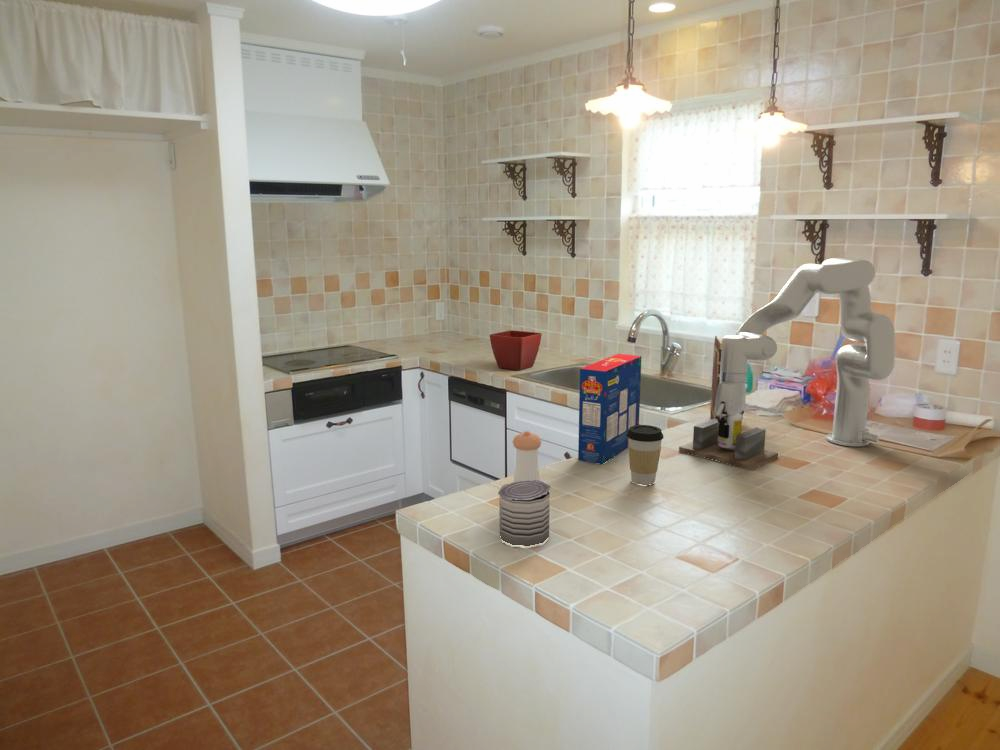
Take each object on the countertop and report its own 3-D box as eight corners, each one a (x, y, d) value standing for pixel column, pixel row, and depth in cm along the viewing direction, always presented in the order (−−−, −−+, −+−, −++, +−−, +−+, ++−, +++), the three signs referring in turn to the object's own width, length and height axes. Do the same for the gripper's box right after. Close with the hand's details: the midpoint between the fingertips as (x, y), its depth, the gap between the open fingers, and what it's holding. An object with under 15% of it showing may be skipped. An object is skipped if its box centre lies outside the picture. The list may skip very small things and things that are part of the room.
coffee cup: (664, 479, 194) (667, 426, 191) (657, 491, 185) (659, 436, 182) (629, 473, 198) (631, 422, 195) (620, 485, 189) (622, 432, 186)
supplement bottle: (740, 443, 216) (743, 403, 213) (740, 450, 210) (742, 408, 207) (717, 441, 218) (719, 401, 215) (716, 448, 212) (719, 406, 209)
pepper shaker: (521, 512, 172) (521, 437, 168) (507, 502, 178) (507, 429, 174) (546, 506, 175) (547, 433, 171) (532, 497, 182) (532, 425, 178)
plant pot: (510, 362, 360) (510, 329, 357) (542, 366, 349) (542, 332, 346) (488, 368, 345) (488, 334, 341) (521, 373, 334) (521, 337, 330)
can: (546, 551, 152) (547, 498, 149) (494, 547, 154) (494, 495, 151) (552, 528, 163) (552, 479, 160) (503, 525, 165) (503, 476, 162)
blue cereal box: (615, 436, 233) (618, 353, 227) (638, 440, 229) (641, 356, 223) (578, 460, 210) (579, 368, 204) (602, 464, 206) (605, 371, 200)
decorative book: (740, 435, 234) (746, 346, 227) (715, 434, 235) (720, 345, 229) (732, 417, 255) (737, 336, 249) (709, 416, 257) (714, 335, 251)
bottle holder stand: (777, 457, 211) (780, 430, 209) (751, 470, 200) (753, 441, 199) (706, 440, 228) (707, 415, 227) (678, 451, 218) (680, 425, 216)
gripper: (736, 370, 218) (732, 426, 222) (706, 379, 206) (703, 438, 210) (759, 374, 212) (755, 431, 216) (729, 383, 201) (726, 443, 205)
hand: (729, 434), depth 213 cm, fingers closed on supplement bottle, 6 cm apart
